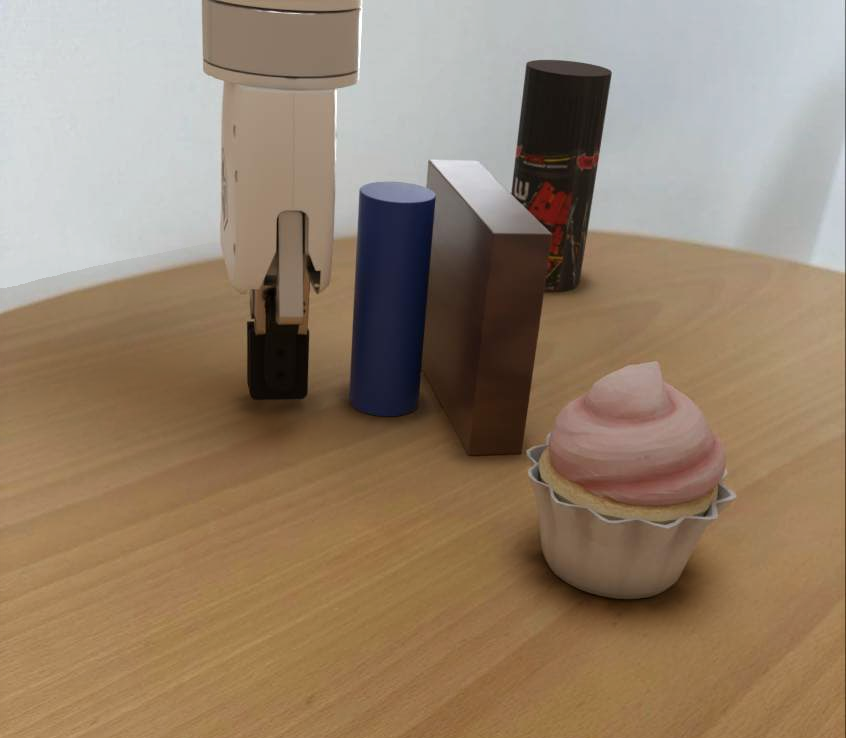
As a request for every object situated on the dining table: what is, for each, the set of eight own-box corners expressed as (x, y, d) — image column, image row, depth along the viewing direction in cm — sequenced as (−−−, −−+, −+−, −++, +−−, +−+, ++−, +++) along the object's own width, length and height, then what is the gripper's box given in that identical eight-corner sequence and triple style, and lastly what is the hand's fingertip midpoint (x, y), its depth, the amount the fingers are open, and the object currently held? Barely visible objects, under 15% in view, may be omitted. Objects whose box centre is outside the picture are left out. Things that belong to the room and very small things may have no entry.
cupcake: (748, 616, 50) (806, 409, 45) (544, 628, 48) (580, 412, 43) (667, 509, 58) (709, 321, 53) (489, 515, 56) (514, 320, 51)
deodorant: (594, 280, 88) (627, 71, 80) (551, 297, 84) (581, 79, 76) (530, 260, 91) (557, 57, 83) (486, 275, 87) (509, 63, 79)
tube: (381, 447, 66) (248, 296, 59) (370, 417, 69) (242, 270, 63) (535, 333, 64) (414, 163, 58) (515, 307, 67) (399, 144, 61)
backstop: (468, 455, 61) (493, 233, 55) (412, 352, 73) (428, 159, 67) (522, 453, 62) (552, 234, 56) (458, 352, 74) (478, 160, 67)
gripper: (193, 14, 60) (200, 343, 70) (214, 69, 48) (219, 458, 58) (334, 22, 62) (323, 341, 72) (389, 76, 50) (367, 453, 59)
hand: (277, 393), depth 65 cm, fingers closed
